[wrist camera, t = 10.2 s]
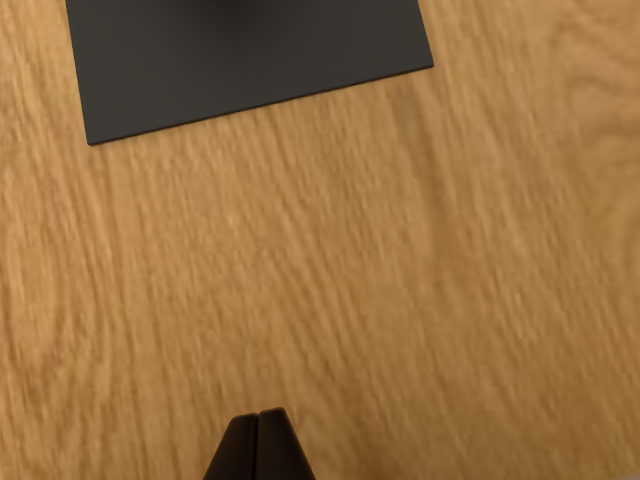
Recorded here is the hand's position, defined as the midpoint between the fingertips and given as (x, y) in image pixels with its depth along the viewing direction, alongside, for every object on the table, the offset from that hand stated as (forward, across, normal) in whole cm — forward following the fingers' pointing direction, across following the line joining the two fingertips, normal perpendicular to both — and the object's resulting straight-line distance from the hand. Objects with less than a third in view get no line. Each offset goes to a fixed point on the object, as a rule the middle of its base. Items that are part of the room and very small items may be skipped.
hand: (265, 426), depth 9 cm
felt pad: (+18, 0, -3) cm, 18 cm away
